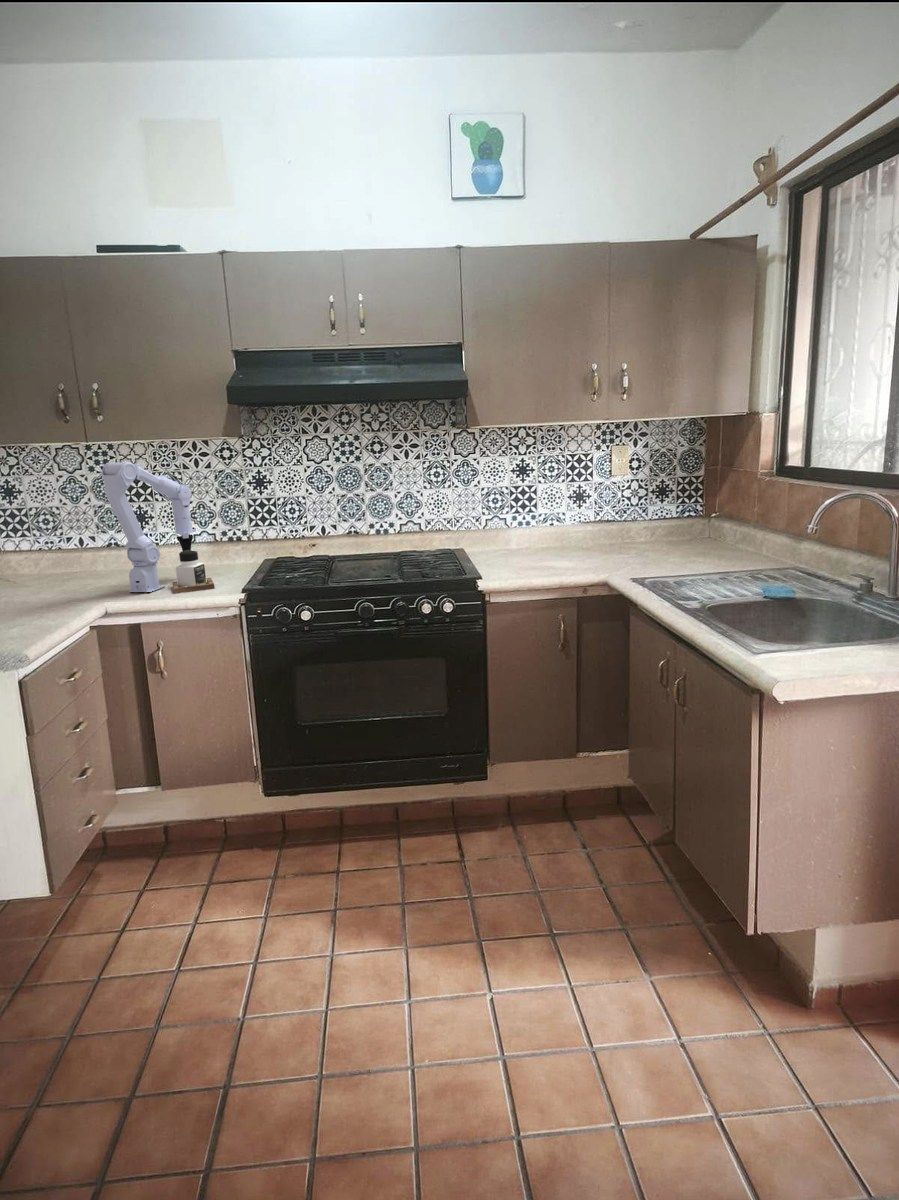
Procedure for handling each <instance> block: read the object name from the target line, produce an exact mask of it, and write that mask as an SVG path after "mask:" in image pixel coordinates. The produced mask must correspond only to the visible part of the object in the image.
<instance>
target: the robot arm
mask: <svg viewBox="0 0 899 1200" xmlns="http://www.w3.org/2000/svg"><path fill="white" fill-rule="evenodd" d="M100 475H101V478H102V480H103V485H104V493H105V496H106V498H107V500H108V502H109V504H110V506H111V508H112V509H111V510H113V512H114V513H113V514H115V516H116V519H117V520H118V523H119V524H120V527H121V530H122V531H123V533H124V534H125V537H126V539H127V542H126V544H125V546H124V547H125V549H126V555H127V559H128V560H129V561H130V562H131V564H132V565H133V567H132V569H130V571H129V573H128V577H129V579H128V580H129V585H130V591H129V592H151V593H152V591H153V592H155V590H156V591H158V590H159V589H162V588H165V587H166V585H163V584H161V585H160V580H159V573H158V567H157V564H158V561H159V559H160V557H161V552H160V550H159V547H157V546H156V545H155V543H154V542H153V540H151V539H150V538H149V537H148V536H146V535H145V534H144V531H143V529H142V527H141V524H140V522H139V521H138V520H139V519H137V516H136V514H135V512H134V510H133V508H132V505H131V504H130V501H129V500H128V497H127V494H126V492H127V490H128V489H129V488H130V486H131V485H132V484H133V482H134V481H135V480H138V481H141V482H143V483H146V484H148V485H150V486H152V489H153V490H154V492H155V491H156V492H157V493H160V494H162V495H164V496H166V497H167V499H168V500H169V501H171V508H172V513H173V521H174V528H175V530H174V533H175V534H176V535H179V536H176V539H177V541H178V543H179V544H180V547H181V550H182V551H186V550H192V543H193V539H194V536H193V534H191V533H194V532H196V531H197V530H196V528H194V529H193V526H192V517H191V510H190V509H191V508H190V504H191V501H190V500H191V497H192V491H191V489H190V488H189V487H188V486H187V485H186V484H179V482H178V481H177V480H172V479H170V478H169V477H168V475H165V474H162V475H161V474H160V475H158V476H156V475H154V474H152V473H151V472H149V471H147V470H145V469H144V468H142V467H140V466H139V465H138V464H136V463H133V462H130V461H125V462H122V461H121V462H119V461H117V462H114V461H110V462H106V463H105V464H104V465H103V467H102V469H101V472H100ZM182 551H181V552H182ZM157 589H158V590H157Z"/></svg>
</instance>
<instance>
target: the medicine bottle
mask: <svg viewBox="0 0 899 1200" xmlns="http://www.w3.org/2000/svg"><path fill="white" fill-rule="evenodd" d="M178 554H179V562H180V564H179V565H176V566H175V573H176V579H177V580H176V582H177V585H178V587H179V586H195V585H204V584H206V583H207V575H206V568H205V567H206V566H205V563H204V562H199V555H198V554H199V553H198V551H197V550H195V549H191V550H186V551H180V552H179V553H178Z"/></svg>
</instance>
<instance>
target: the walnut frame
mask: <svg viewBox="0 0 899 1200" xmlns="http://www.w3.org/2000/svg"><path fill="white" fill-rule="evenodd" d="M171 583H172V584H171V585H172V588H173V593H174V594H181V592H182V593H187V592H188V593H189V592H196V591H204V590H212V589H214V590H215V583H214V581H213V579H212V577H206V583H203V584H201V585H195V586H187V587H179V586H178V581H172V582H171Z"/></svg>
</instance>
